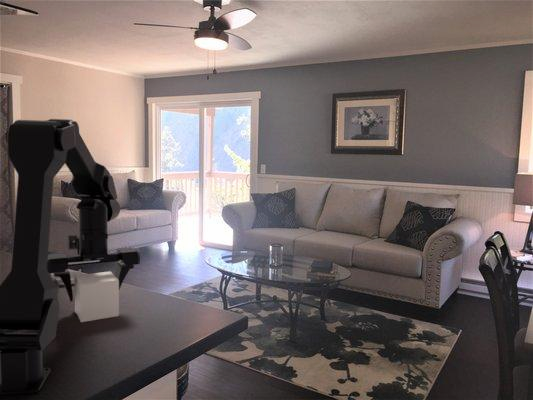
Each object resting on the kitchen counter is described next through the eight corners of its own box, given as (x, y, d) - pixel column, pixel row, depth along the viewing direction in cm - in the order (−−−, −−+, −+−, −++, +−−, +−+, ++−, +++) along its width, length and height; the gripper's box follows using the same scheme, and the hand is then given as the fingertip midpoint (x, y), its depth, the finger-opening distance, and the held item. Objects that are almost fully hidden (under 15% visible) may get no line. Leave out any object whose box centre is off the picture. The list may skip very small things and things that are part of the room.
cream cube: (118, 315, 92) (118, 280, 91) (81, 322, 88) (80, 284, 87) (110, 304, 98) (110, 271, 98) (75, 310, 94) (74, 275, 94)
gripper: (128, 220, 105) (128, 282, 107) (41, 224, 96) (43, 293, 97) (140, 227, 96) (140, 296, 98) (46, 233, 86) (48, 309, 88)
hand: (94, 297), depth 95 cm, fingers open, 9 cm apart
